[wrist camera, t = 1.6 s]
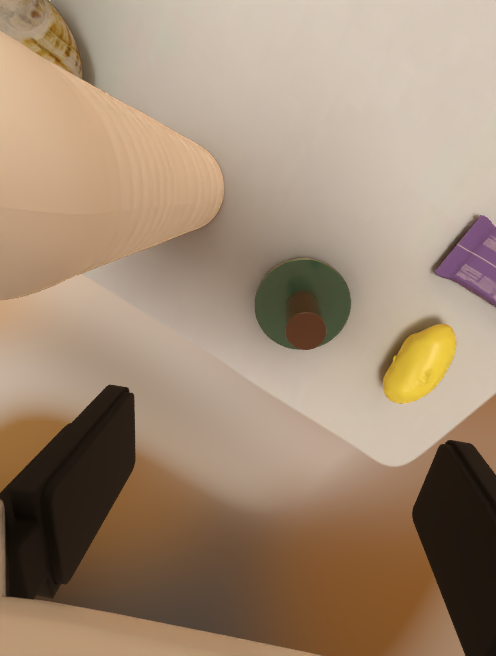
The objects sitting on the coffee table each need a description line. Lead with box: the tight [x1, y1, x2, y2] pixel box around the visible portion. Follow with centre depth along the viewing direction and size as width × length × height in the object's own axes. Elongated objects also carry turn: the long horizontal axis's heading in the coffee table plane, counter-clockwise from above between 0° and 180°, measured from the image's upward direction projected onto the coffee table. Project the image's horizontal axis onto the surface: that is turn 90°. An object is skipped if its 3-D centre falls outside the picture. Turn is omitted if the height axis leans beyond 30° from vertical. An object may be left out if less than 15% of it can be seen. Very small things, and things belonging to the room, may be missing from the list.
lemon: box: [383, 324, 456, 404], centre depth 28 cm, size 4×8×4 cm, turn 152°
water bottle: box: [0, 31, 224, 300], centre depth 15 cm, size 9×6×25 cm
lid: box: [255, 258, 351, 350], centre depth 26 cm, size 8×8×7 cm
